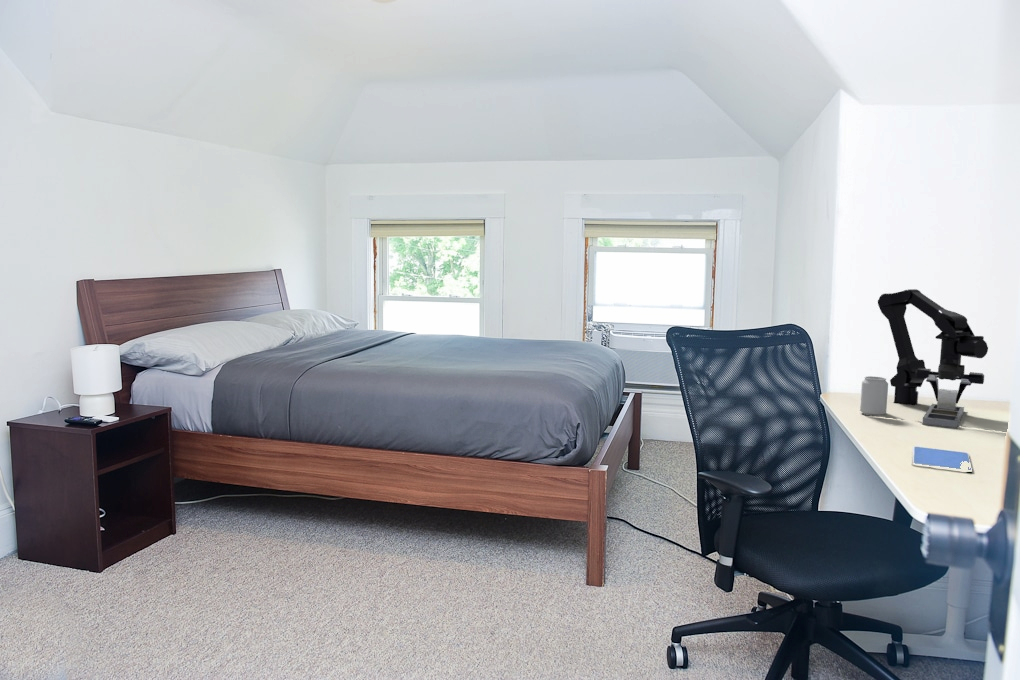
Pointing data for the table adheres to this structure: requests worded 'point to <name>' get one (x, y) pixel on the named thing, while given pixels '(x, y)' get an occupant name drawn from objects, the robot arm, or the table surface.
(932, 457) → the tablet computer
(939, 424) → the gray compartment tray
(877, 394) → the can
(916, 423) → the table surface
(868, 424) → the table surface
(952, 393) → the metal block
